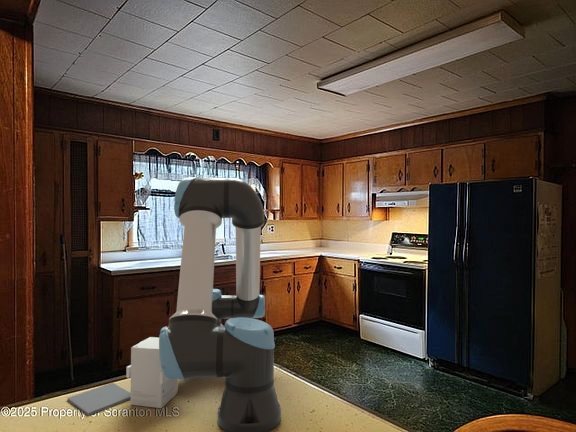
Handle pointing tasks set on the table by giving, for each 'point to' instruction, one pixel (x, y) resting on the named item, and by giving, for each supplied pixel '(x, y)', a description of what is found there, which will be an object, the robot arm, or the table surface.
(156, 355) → the supplement box
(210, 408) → the table surface
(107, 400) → the mat
